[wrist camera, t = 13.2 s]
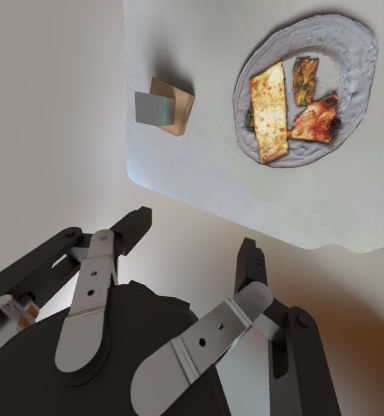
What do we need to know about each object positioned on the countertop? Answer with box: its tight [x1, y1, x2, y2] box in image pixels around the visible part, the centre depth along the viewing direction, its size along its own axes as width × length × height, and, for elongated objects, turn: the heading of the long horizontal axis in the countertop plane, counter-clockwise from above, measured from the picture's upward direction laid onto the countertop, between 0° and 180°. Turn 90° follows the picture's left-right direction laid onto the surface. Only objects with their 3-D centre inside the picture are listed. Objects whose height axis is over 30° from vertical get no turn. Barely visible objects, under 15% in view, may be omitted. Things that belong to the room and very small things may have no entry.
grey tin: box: [135, 92, 176, 126], centre depth 33 cm, size 5×5×8 cm
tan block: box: [150, 77, 195, 136], centre depth 38 cm, size 9×9×5 cm
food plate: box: [233, 14, 379, 168], centre depth 32 cm, size 25×23×4 cm
